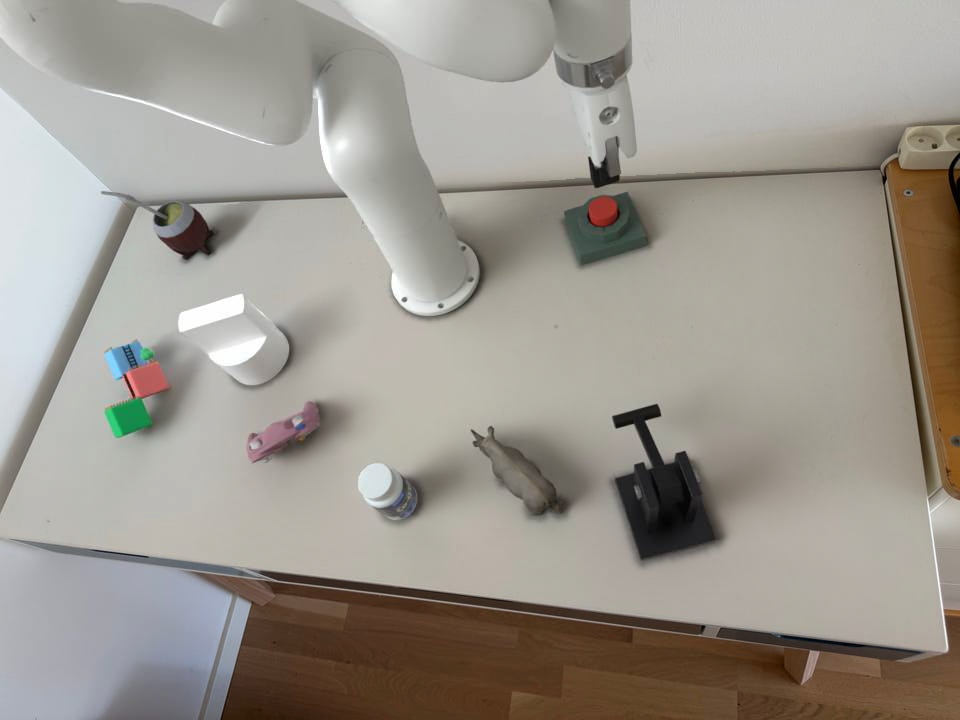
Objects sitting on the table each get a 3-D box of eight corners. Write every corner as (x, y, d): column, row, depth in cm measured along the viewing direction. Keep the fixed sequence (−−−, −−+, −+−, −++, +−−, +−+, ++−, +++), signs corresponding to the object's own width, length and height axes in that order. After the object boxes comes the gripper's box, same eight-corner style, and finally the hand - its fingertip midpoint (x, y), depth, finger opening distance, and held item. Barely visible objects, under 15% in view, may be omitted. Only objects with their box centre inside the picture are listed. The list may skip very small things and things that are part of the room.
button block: (565, 221, 91) (562, 202, 88) (627, 201, 90) (627, 182, 87) (580, 265, 87) (578, 247, 84) (646, 245, 86) (646, 226, 83)
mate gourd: (227, 239, 104) (168, 174, 91) (191, 275, 102) (125, 213, 89) (201, 220, 107) (141, 154, 94) (166, 254, 105) (99, 192, 92)
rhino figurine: (490, 425, 80) (480, 406, 74) (570, 504, 73) (565, 489, 68) (465, 448, 79) (453, 430, 74) (544, 530, 72) (537, 517, 67)
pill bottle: (413, 523, 76) (389, 505, 69) (376, 517, 77) (348, 498, 70) (422, 484, 78) (400, 462, 71) (386, 478, 79) (360, 456, 72)
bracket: (614, 481, 73) (610, 446, 63) (684, 462, 72) (692, 423, 62) (640, 561, 69) (640, 537, 59) (715, 542, 68) (728, 514, 58)
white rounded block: (230, 392, 90) (177, 353, 80) (229, 338, 94) (179, 294, 84) (291, 374, 89) (245, 332, 79) (287, 321, 94) (243, 274, 83)
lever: (613, 425, 72) (610, 410, 70) (658, 413, 71) (655, 397, 70) (647, 510, 62) (643, 494, 60) (699, 496, 61) (696, 480, 60)
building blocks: (164, 419, 96) (131, 343, 95) (181, 413, 90) (147, 332, 89) (108, 441, 91) (73, 361, 90) (123, 436, 85) (85, 350, 84)
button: (586, 210, 87) (585, 201, 85) (612, 202, 86) (612, 193, 85) (594, 230, 85) (593, 222, 83) (621, 222, 85) (620, 213, 83)
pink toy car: (266, 466, 85) (247, 471, 78) (249, 435, 86) (229, 438, 79) (332, 428, 86) (319, 430, 79) (315, 398, 86) (301, 397, 79)
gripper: (655, 89, 60) (655, 215, 76) (607, -5, 67) (616, 129, 83) (576, 116, 61) (593, 235, 77) (537, 21, 68) (560, 148, 84)
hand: (605, 180), depth 80 cm, fingers closed
